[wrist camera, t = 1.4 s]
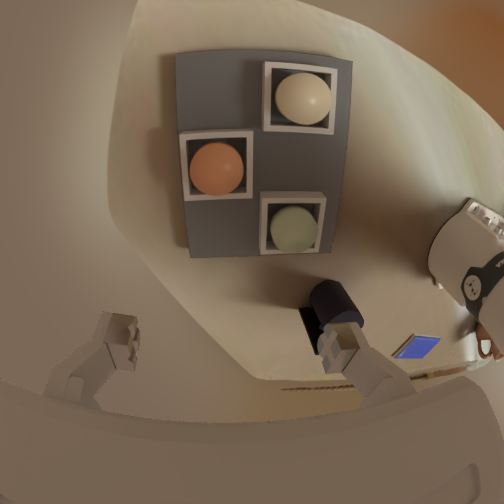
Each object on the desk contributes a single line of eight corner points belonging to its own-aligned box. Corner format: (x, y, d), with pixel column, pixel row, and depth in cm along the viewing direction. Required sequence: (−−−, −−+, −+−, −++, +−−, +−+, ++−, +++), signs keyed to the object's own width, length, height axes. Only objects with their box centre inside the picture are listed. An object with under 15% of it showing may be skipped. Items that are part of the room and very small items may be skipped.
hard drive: (394, 359, 56) (421, 359, 59) (416, 337, 52) (441, 339, 55) (392, 354, 57) (419, 354, 60) (413, 332, 53) (438, 335, 56)
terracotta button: (242, 140, 25) (243, 144, 23) (242, 187, 28) (243, 194, 26) (190, 142, 24) (187, 146, 23) (193, 189, 27) (191, 197, 26)
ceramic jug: (502, 286, 49) (528, 321, 38) (509, 300, 54) (530, 331, 43) (461, 331, 58) (482, 368, 46) (473, 339, 63) (491, 371, 51)
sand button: (325, 77, 22) (333, 76, 20) (323, 123, 24) (330, 126, 23) (274, 72, 21) (278, 70, 19) (273, 121, 24) (277, 123, 22)
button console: (345, 62, 23) (360, 60, 20) (325, 244, 37) (335, 261, 33) (178, 56, 22) (171, 51, 19) (191, 249, 35) (188, 267, 32)
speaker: (326, 317, 45) (345, 362, 35) (297, 309, 43) (312, 356, 34) (349, 282, 42) (376, 324, 32) (320, 271, 40) (344, 316, 31)
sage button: (315, 204, 29) (321, 212, 28) (310, 243, 32) (314, 252, 30) (270, 204, 29) (273, 212, 27) (268, 244, 32) (271, 254, 30)
